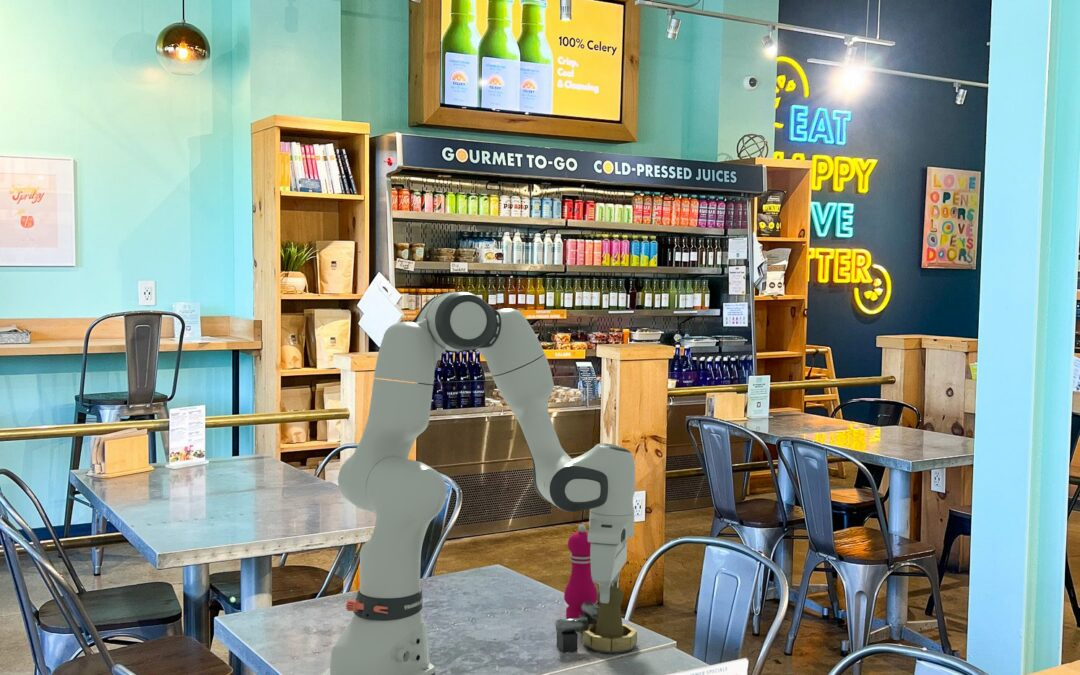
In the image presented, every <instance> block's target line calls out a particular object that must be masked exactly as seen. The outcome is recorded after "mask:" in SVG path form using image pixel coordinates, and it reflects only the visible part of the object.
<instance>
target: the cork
mask: <svg viewBox="0 0 1080 675" xmlns="http://www.w3.org/2000/svg"><path fill="white" fill-rule="evenodd" d="M623 601H624V593H623V590H622V589H621V588H619V587H618V588H617V587H610V601H609V603H601V602H600V591H599V590H597V602H598V604H599V606H598V607H599V613H598V619H597V626H596V633H595V635H598V636H605V637H620V636H624V635H623V625H622V624H623V619H622V609H621V608H622V607H621V605H622V603H623Z"/></svg>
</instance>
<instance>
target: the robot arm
mask: <svg viewBox="0 0 1080 675" xmlns="http://www.w3.org/2000/svg"><path fill="white" fill-rule="evenodd" d="M471 350H476V351H478V352H479V354H481V356H482V357H483V359H484V361H486V364H487V368H488V370H489V372H490V375H491V377H492V380H493V381H494V382H493V383H494V384H495V385H496V388H497V389H498V392H499V394H500V395H501V397H502V398H503V400H504V401H505V403H506V405H507V406H508V408H509V409H510V410H511V412H512V414H513V415H514V417H515V419H516V420H517V422H518V426H519V428H520V431H521V433H522V435H523V438H524V440H525V443H526V444H527V445H526V446H527V448H528V450H529V452H530V455H531V456H530V457H531V460H532V482H533V487H534V489H535V492H536V494H538V496H539V497H540V498H541V499H542V500H544V501H545V502H548V503H550V504H552V505H554V506H555V507H557V508H558V509H559V510H561V511H564V512H568V513H573V512H575V513H576V512H581V511H587V510H589V517H588V518H589V519H588V520H589V521H588V523H589V524H588V530H587V531H588V542H591V547H590V557H591V576H592V581H593V583H594V584H595V585H597V584H598V591H600V602H601V603H609V601H610V587H617V588H619V582H620V581H619V580H620V575H621V569H622V568H623V567H624V565H625V564H626V562H627V558H628V557H627V556H628V539H632V538H633V537H634V534H635V507H634V495H635V492H636V467H635V466H636V465H635V464H636V463H635V459H634V455H633V453H632V452H631V451H630V450H629V449H627V448H625V447H623V446H619V445H616V444H613V443H603V442H602V443H601V442H600V443H597V444H596V445H594V447H592V448H590V450H588V451H586V452H585V453H583V454H581V455H579V456H576V457H573V458H572V457H571V456H570V455H569V454H568V453H567V452H566V451H565V450H564V448H563V447H562V445H561V443H560V442H561V441H560V440H559V437H558V435H557V432H556V430H555V427H554V425H553V422H552V418H551V416H550V413H549V400H550V398H551V396H552V394H553V391H554V387H555V384H554V378H553V374H552V370H551V367H550V364H549V360H548V358H547V355H546V353H545V350H544V348H543V347H542V345H541V342H540V341H539V338H538V336H537V335H536V333H535V330H534V329H533V328H532V326H531V324H530V323H529V321H528V319H527V318H526V317H525V315H524V314H523V313H522V312H521V311H519V310H518V309H515V308H509V307H508V308H507V307H506V308H499V309H495V308H494V307H492V306H491V305H490V304H489V303H488V302H486V301H485V300H484V299H483V298H481V297H480V296H478V295H476V294H474V293H472V292H467V291H459V292H458V291H448V292H444V293H441V294H439V295H436V296H434V297H432V298H430V300H427V302H426V303H425V304H424V305H423V306H422V307H421V309H420V311H419V312H418V313H417V315H416V316H415V318H414V319H413V320H412V321H400V322H396V323H394V324H392V325H390V326H389V327H388V328H387V329H385V332H384V333H383V336H382V340H381V343H380V347H379V350H378V354H377V358H376V363H375V369H374V374H373V381H372V389H371V396H370V404H369V411H368V416H367V421H366V424H365V426H364V430H363V433H362V435H361V437H360V440H359V441H358V442H359V443H358V445H357V446H356V449H355V450H354V452H353V453H352V455H350V457H348V458H347V459H346V460H345V461H344V463H343V464H342V465H341V467H340V470H339V472H338V477H337V484H338V489H339V491H340V493H341V495H342V496H343V498H345V499H346V500H347V501H348V502H350V503H351V504H352V505H353V506H355V507H356V508H358V509H360V510H363V511H367V512H369V513H373V514H375V524H374V527H373V531H372V534H371V537H370V539H369V540H367V541H366V542H365V543H364V544H363V545H362V547H361V549H360V552H359V589H358V590H357V594H356V597H355V600H354V599H348V600H346V603H345V609H346V611H347V612H353V613H354V614H353V616H352V618H351V620H350V621H349V622H348V624H347V625H346V626H345V628H344V630H343V631H342V633H341V635H340V636H339V638H337V640H336V642H335V644H334V645H333V646H332V650H331V654H330V667H328V668H327V669H325V671H323V672H322V673H321V674H320V675H434V674H435V673H436V668H435V665H434V664H432V663H431V661H430V647H429V635H428V634H429V633H428V627H427V624H426V622H425V620H424V618H423V616H422V613H421V611H422V609H423V603H424V602H423V601H424V596H423V590H422V588H421V564H422V563H421V559H422V558H421V557H422V549H423V548H422V547H423V543H424V540H425V536H426V533H427V530H428V528H429V525H430V523H431V521H432V520H433V519H434V518H435V517H437V516H439V514H440V513H441V511H442V510H443V508H444V506H445V503H446V500H447V494H448V492H447V491H448V490H447V483H446V481H445V479H444V477H443V476H442V474H441V473H440V472H439V471H437V470H436V469H434V468H432V467H431V466H429V465H427V464H426V463H424V462H421V461H417V460H413V459H409V456H410V453H411V449H412V448H413V445H414V443H415V441H416V439H417V438H418V437H419V436H420V435H421V434H422V433H423V432H425V430H426V429H427V428H428V426H429V423H430V416H431V409H432V400H433V399H432V398H433V391H434V381H435V372H436V370H435V368H436V367H437V363H438V361H439V358H440V357H441V355H442V354H443V353H445V351H448V352H449V351H450V352H462V351H471Z"/></svg>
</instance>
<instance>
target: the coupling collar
mask: <svg viewBox="0 0 1080 675" xmlns="http://www.w3.org/2000/svg"><path fill="white" fill-rule="evenodd" d="M622 625H623V635H624V636H620V637H605V636H598V635H595V633H596V626H597V623H595V624H590V625H589V629H588V631H583V633H582V643H583V647H584V648H585V649H586V650H588V651H590V652H593V653H597V654H603V655H620V654H621V655H622V654H628V653H631V652H633V651H635V649H637V643H638V630H636V629H635V628H633V627H632V626H631V625H629V624H625V623H622Z"/></svg>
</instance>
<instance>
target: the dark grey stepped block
mask: <svg viewBox="0 0 1080 675" xmlns="http://www.w3.org/2000/svg"><path fill="white" fill-rule="evenodd" d="M588 629H589V622H588V619H587V618H586V617H585V618H573V619H569V618H561V619H556V620H555V631H556V648H558V649H559V651H560V652H561V653H563V654H565V653H566V652H569V653H578V645H579V644H578V643H579V640H578V639H579V634H578V632H579V633H582V631H588ZM566 654H567V653H566Z"/></svg>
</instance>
